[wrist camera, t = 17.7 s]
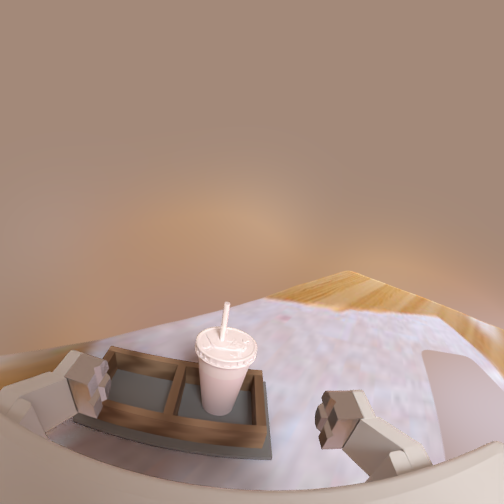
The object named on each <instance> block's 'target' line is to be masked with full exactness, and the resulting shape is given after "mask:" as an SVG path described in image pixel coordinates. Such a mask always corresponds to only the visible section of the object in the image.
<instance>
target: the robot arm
mask: <svg viewBox="0 0 504 504" xmlns="http://www.w3.org/2000/svg"><path fill="white" fill-rule="evenodd" d="M108 369H109V367H108V362H107V361H106V360H104V359H101V358H97V357H94V356H91V355H88V354H85V353H81V352H78V351H76V350H71V351H70V352H69V353H68V354H67V355H66V356H65V358H64V359H63V360H62V361H61V362H60V364H59V365H58V366H57V367H56V369H55V370H54V371H53V372H46V373H43V374H40V375H38V376H35V377H32V378H29V379H26V380H23V381H20V382H17V383H14V384H11V385H8V386H5V387H3V388H2V389H1V391H0V504H504V444H503V443H501V442H498V441H493V442H490V443H488V444H486V445H483V446H481V447H479V448H477V449H475V450H472V451H470V452H468V453H465V454H463V455H460V456H458V457H456V458H453V459H450V460H447V461H445V462H442V463H439V464H436V465H432V463H431V461H430V459H429V457H428V455H427V453H426V451H425V449H424V448H423V446H422V444H420V443H419V442H417V441H415V440H414V439H412V438H411V437H409V436H408V435H406V434H404V433H403V432H401V431H400V430H398V429H397V428H395V427H394V426H392V425H391V424H389V423H388V422H386V421H385V420H383V419H382V418H380V417H376V416H375V414H374V411H373V409H372V407H371V405H370V403H369V401H368V399H367V397H366V395H365V393H364V391H362V390H350V391H325V392H324V393H323V396H322V401H323V403H322V404H320V405H319V406H318V407H317V410H316V414H315V425H316V428H317V429H318V430H319V431H320V432H321V433H320V435H319V436H318V437H319V441H320V445H321V449H341V448H343V449H342V450H343V451H344V452H345V453H346V454H347V455H348V456H349V457H350V458H351V459H352V460H353V461H354V462H355V463H356V464H357V465H358V466H359V467H360V468H361V469H363V470H364V471H365V472H366V473H367V474H368V475H369V476H370V477H369V478H368V480H367V481H366V482H365V483H360V484H353V485H347V486H339V487H330V488H320V489H307V490H281V491H266V490H240V489H227V488H217V487H208V486H201V485H194V484H187V483H182V482H176V481H171V480H166V479H161V478H157V477H152V476H148V475H144V474H140V473H137V472H133V471H129V470H126V469H123V468H119V467H116V466H113V465H110V464H107V463H104V462H101V461H98V460H95V459H93V458H90V457H87V456H85V455H82V454H80V453H77V452H75V451H72V450H70V449H68V448H65V447H63V446H61V445H59V444H56V443H54V442H52V441H50V440H49V439H48V437H47V435H46V432H47V431H49V430H51V429H52V428H54V427H56V426H58V425H59V424H61V423H63V422H64V421H66V420H67V419H69V418H71V417H72V416H74V415H76V414H77V412H78V413H81V414H84V415H87V416H90V417H93V418H97V417H98V415H99V413H100V412H101V410H102V408H103V406H102V401H104V400H106V399H107V398H108V396H109V394H110V390H111V378H110V376H109V375H108V374H107V371H108Z"/></svg>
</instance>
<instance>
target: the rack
mask: <svg viewBox="0 0 504 504" xmlns="http://www.w3.org/2000/svg"><path fill="white" fill-rule="evenodd" d="M103 359H104V360H106V361H107V362H108V367H109V369H108V371H107V374H108V375H109V376H110V378H111V380H112V378H113V376H114V375H115V373H116V371H117V369H120V370H124V371H128V372H132V373H137V374H141V375H146V376H150V377H155V378H160V379H165V380H170V381H173V382H172V386H171V389H170V392H169V395H168V399H167V402H166V405H165V409H164V412H163V413H160V412H155V411H151V410H146V409H142V408H138V407H134V406H130V405H126V404H122V403H119V402H115V401H111V400H108V399H106V400H104V401H102V406H103V408H102V410H101V412H100V413H99V415H98V417H97V418H96V419H99V420H102V421H105V422H109V423H112V424H115V425H119V426H122V427H126V428H129V429H133V430H137V431H141V432H145V433H150V434H154V435H159V436H163V437H168V438H174V439H179V440H185V441H191V442H198V443H205V444H213V445H221V446H231V447H244V448H261V449H262V447H263V444H264V441H265V438H266V435H267V427H266V414H265V401H264V389H263V376H262V370H251V369H248V371H247V373H246V376H245V378H244V381H243V383H242V386H241V388H240V390H241V391H251V408H252V425H244V424H233V423H223V422H215V421H207V420H200V419H193V418H187V417H181V416H178V412H179V408H180V404H181V399H182V395H183V391H184V388H185V384H186V383H188V384H194V385H200V375H199V363H195V362H188V361H182V360H176V359H171V358H165V357H160V356H155V355H150V354H145V353H140V352H136V351H131V350H127V349H122V348H118V347H114V346H111V347H110V349H109V350H108V351H107V353H106V354H105V356H104V357H103Z"/></svg>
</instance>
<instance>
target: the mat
mask: <svg viewBox="0 0 504 504" xmlns="http://www.w3.org/2000/svg"><path fill="white" fill-rule="evenodd" d="M172 382H173V381H170V380H165V379H160V378H155V377H150V376H146V375H141V374H137V373H132V372H128V371H124V370H120V369H117V371H116V373H115V375H114V376H113V378H112V380H111V390H110V394H109V396H108V398H107V399H108V400H111V401H115V402H119V403H122V404H126V405H130V406H134V407H138V408H142V409H146V410H151V411H155V412H160V413H163V412H164V409H165V405H166V402H167V399H168V395H169V392H170V389H171V386H172ZM263 389H264V401H265V414H266V427H267V435H266V438H265V441H264V444H263V447H262V449H261V448H244V447H231V446H221V445H213V444H205V443H198V442H191V441H185V440H179V439H174V438H168V437H163V436H159V435H154V434H150V433H145V432H141V431H137V430H133V429H129V428H126V427H122V426H119V425H115V424H112V423H109V422H105V421H102V420H99V419H96V418H93V417H90V416H87V415H84V414H81V413H78V412H77V414H76V415H74V417H73V421H74V422H76V423H79V424H82V425H84V426H87V427H90V428H93V429H96V430H99V431H102V432H105V433H108V434H111V435H115V436H118V437H121V438H125V439H129V440H132V441H136V442H140V443H144V444H148V445H153V446H157V447H162V448H167V449H172V450H177V451H183V452H189V453H195V454H202V455H210V456H219V457H229V458H241V459H259V460H271V459H272V451H271V440H270V428H269V417H268V406H267V395H266V384H265V382H263ZM178 416H181V417H187V418H193V419H200V420H207V421H215V422H223V423H233V424H244V425H252V408H251V391H241V390H240V391H239V393H238V396H237V398H236V401H235V403H234V406H233V408H232V410H231V412H229V413H228V414H226V415H223V416H216V415H212V414H209V413H208V412H206V411H205V410H204V408H203V406H202V399H201V387H200V385H194V384H188V383H186V384H185V388H184V391H183V395H182V399H181V404H180V408H179V412H178Z"/></svg>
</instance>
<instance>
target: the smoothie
mask: <svg viewBox="0 0 504 504" xmlns="http://www.w3.org/2000/svg"><path fill="white" fill-rule="evenodd" d="M229 309H230V303H229V302H225V303H224V310H223V317H222V324H221V327H211V328H207V329H205V330H203V331H201V332H200V333H199V334H198V335H197V337H196V343H195V351H196V353H197V355H198V363H199V375H200V387H201V399H202V406H203V408H204V410H205V411H206V412H208V413H209V414H212V415H216V416H223V415H226V414H228V413H229V412H231V410H232V408H233V406H234V403H235V401H236V398H237V396H238V393H239V391H240V388H241V386H242V383H243V381H244V378H245V376H246V373H247V371H248V368H249V366H250V364H251V363H252V362H253V361H254V360H255V358H256V355H257V354H256V352H257V344H256V342H255V340H254V339H253V338H252V337H251V336H250V335H248V334H247V333H245V332H243V331H241V330H238V329H235V328H231V327H227V322H228V315H229Z"/></svg>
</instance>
